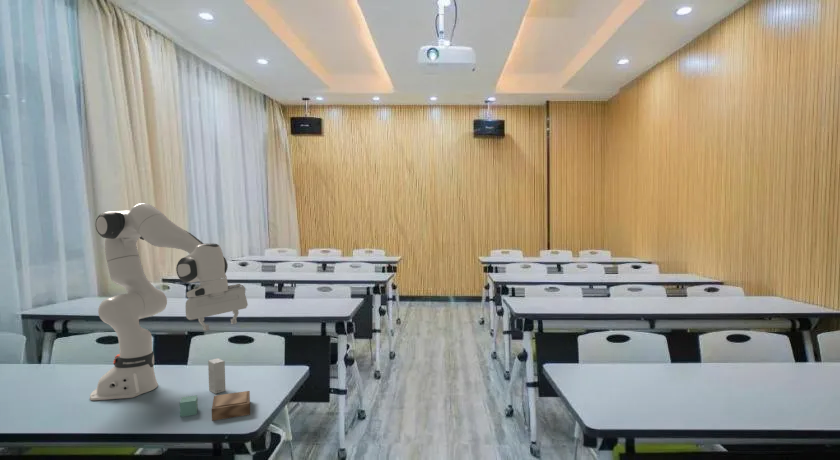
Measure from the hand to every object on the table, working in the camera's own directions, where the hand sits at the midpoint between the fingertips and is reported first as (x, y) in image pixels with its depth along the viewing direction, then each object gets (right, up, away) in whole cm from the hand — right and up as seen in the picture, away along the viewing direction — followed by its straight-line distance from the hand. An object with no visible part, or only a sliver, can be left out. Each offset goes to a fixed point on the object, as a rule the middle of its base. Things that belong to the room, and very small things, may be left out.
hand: (220, 326), depth 160 cm
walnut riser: (+4, -30, 0) cm, 30 cm away
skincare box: (-10, -29, +19) cm, 36 cm away
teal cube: (-11, -30, -1) cm, 32 cm away
